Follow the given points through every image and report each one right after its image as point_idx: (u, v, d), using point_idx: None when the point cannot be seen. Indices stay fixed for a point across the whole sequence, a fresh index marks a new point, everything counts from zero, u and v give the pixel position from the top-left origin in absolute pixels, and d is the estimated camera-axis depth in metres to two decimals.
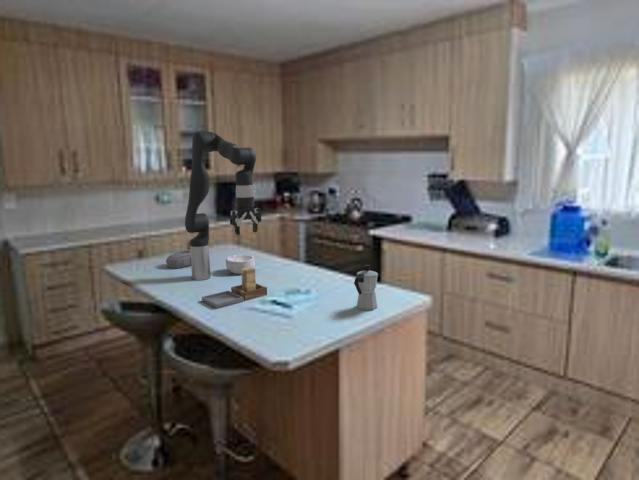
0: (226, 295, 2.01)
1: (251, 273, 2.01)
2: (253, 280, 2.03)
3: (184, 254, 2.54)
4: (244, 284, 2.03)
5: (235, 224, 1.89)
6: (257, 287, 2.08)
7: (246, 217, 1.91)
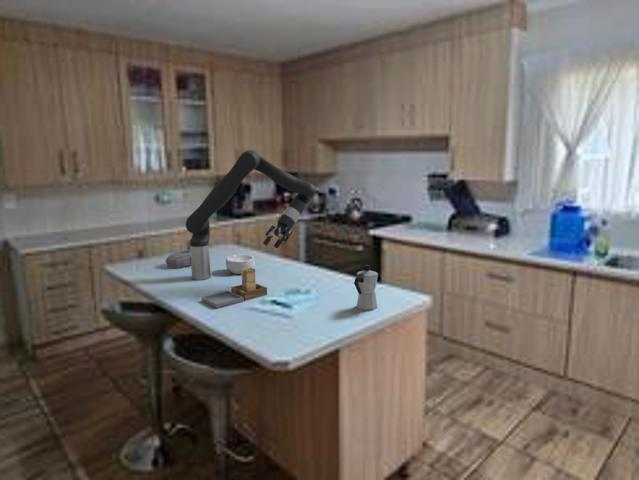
0: (226, 295, 2.01)
1: (251, 273, 2.01)
2: (253, 280, 2.03)
3: (184, 254, 2.54)
4: (244, 284, 2.03)
5: None
6: (257, 287, 2.08)
7: None
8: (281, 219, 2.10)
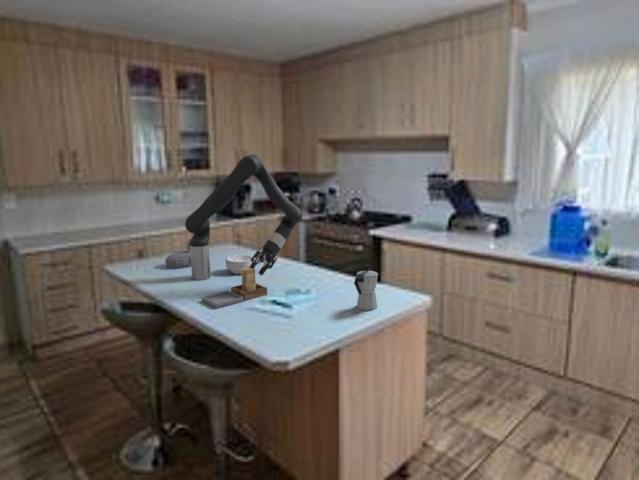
0: (226, 295, 2.01)
1: (251, 273, 2.01)
2: (253, 280, 2.03)
3: (183, 254, 2.54)
4: (244, 284, 2.03)
5: None
6: (257, 287, 2.08)
7: None
8: (266, 245, 2.07)
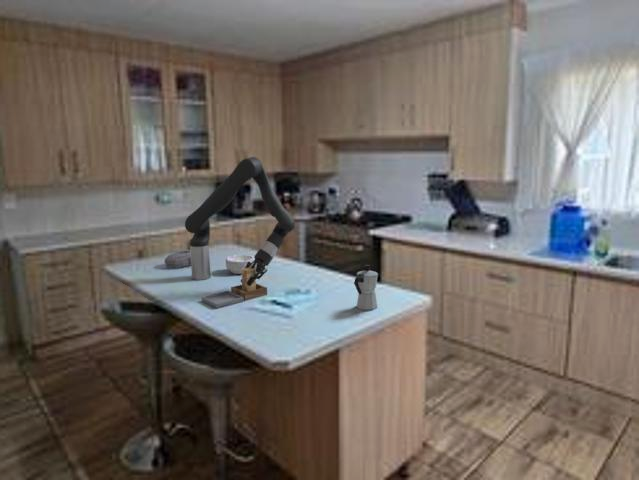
0: (226, 295, 2.01)
1: (251, 273, 2.01)
2: None
3: (183, 254, 2.53)
4: (244, 284, 2.03)
5: None
6: (257, 287, 2.08)
7: None
8: (258, 254, 2.04)
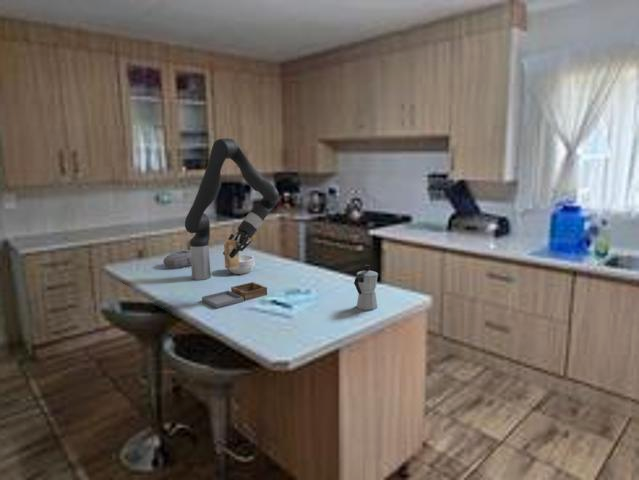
0: (226, 295, 2.01)
1: (234, 244, 1.93)
2: None
3: (182, 254, 2.53)
4: (226, 256, 1.95)
5: None
6: (257, 287, 2.08)
7: None
8: (241, 226, 1.96)
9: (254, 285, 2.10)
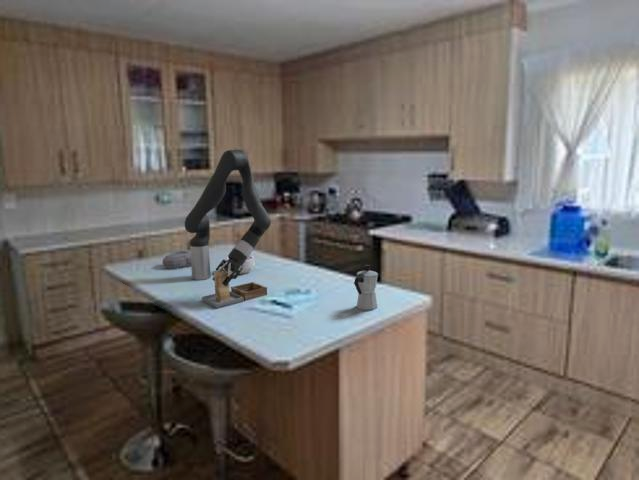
0: None
1: (224, 277, 1.93)
2: None
3: (181, 255, 2.53)
4: (217, 288, 1.94)
5: None
6: (257, 287, 2.08)
7: None
8: (231, 254, 1.95)
9: (254, 285, 2.10)
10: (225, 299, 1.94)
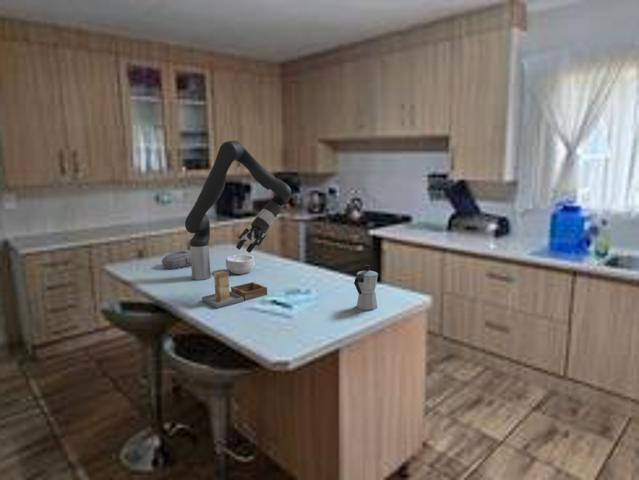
0: None
1: (224, 277, 1.93)
2: (226, 284, 1.94)
3: (180, 255, 2.52)
4: (217, 288, 1.94)
5: (256, 244, 1.97)
6: (257, 287, 2.08)
7: None
8: (255, 222, 2.00)
9: (254, 285, 2.10)
10: (225, 299, 1.94)
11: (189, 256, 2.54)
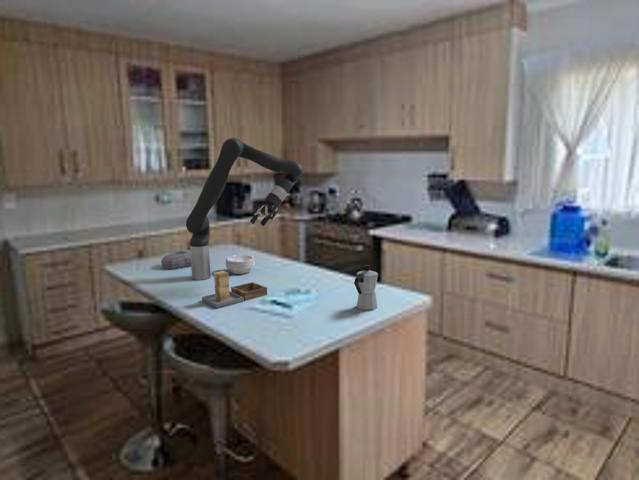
0: None
1: (224, 277, 1.93)
2: (226, 284, 1.94)
3: (179, 255, 2.52)
4: (217, 288, 1.94)
5: None
6: (257, 287, 2.08)
7: None
8: (268, 197, 2.11)
9: (254, 285, 2.10)
10: (225, 299, 1.94)
11: (188, 256, 2.54)
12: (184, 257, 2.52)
